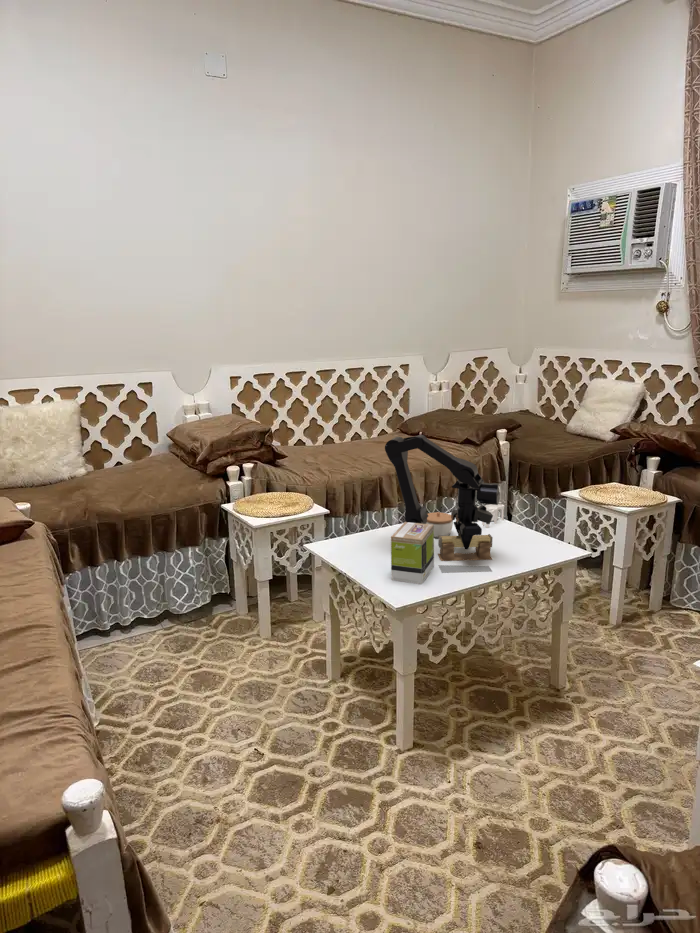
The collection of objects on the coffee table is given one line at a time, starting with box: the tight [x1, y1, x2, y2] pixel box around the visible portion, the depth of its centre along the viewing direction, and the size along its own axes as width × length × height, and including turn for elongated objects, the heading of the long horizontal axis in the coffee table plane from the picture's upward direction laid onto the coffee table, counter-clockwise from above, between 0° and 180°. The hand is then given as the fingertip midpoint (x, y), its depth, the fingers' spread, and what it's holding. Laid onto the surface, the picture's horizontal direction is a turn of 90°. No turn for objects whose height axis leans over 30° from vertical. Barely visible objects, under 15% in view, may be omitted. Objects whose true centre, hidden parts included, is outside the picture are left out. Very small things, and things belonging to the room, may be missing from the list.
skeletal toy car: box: [472, 504, 505, 529], centre depth 248 cm, size 20×11×7 cm, turn 112°
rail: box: [437, 533, 493, 550], centre depth 214 cm, size 17×3×3 cm, turn 93°
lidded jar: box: [426, 511, 454, 539], centre depth 236 cm, size 11×11×9 cm
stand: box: [437, 543, 493, 562], centre depth 215 cm, size 17×6×6 cm, turn 93°
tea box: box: [390, 521, 435, 585], centre depth 202 cm, size 15×10×15 cm
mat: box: [438, 564, 493, 574], centre depth 207 cm, size 16×7×1 cm, turn 93°
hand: (465, 547), depth 215 cm, fingers open, 4 cm apart
